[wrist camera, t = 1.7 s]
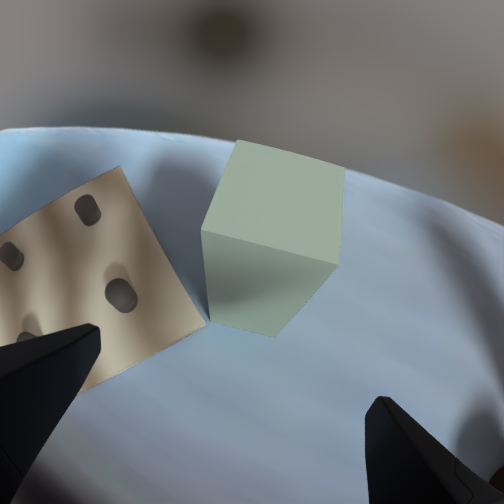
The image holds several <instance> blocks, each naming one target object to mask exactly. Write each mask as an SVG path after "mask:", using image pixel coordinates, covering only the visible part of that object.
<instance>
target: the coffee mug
mask: <svg viewBox="0 0 504 504" xmlns="http://www.w3.org/2000/svg"><path fill="white" fill-rule="evenodd" d="M489 484H490V485H491V486H493V487H494V488H496V489H497V490H498V491H500V492H501V493H503V494H504V466H503V467H501V468H500V469H499V470H498V471H497V472H496V473H495V474H494V475H493V477H492V478H491V480H490V481H489Z"/></svg>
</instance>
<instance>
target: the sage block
mask: <svg viewBox="0 0 504 504" xmlns="http://www.w3.org/2000/svg"><path fill="white" fill-rule="evenodd" d="M344 176H345V168H344V167H341V166H337V165H334V164H331V163H328V162H324V161H321V160H317V159H314V158H310V157H307V156H303V155H299V154H296V153H292V152H288V151H284V150H280V149H276V148H272V147H268V146H264V145H260V144H255V143H251V142H246V141H242V140H237V142H236V144H235V146H234V148H233V151H232V153H231V155H230V158H229V160H228V163H227V165H226V167H225V170H224V172H223V174H222V177H221V179H220V182H219V184H218V187H217V189H216V192H215V194H214V196H213V199H212V201H211V204H210V206H209V209H208V212H207V214H206V217H205V219H204V222H203V224H202V227H201V240H202V250H203V260H204V270H205V279H206V288H207V297H208V306H209V314H210V321H211V322H215V323H218V324H222V325H226V326H230V327H233V328H237V329H241V330H245V331H249V332H253V333H257V334H261V335H265V336H270V337H274V338H275V337H276V336H277V335H278V334H279V333H280V331H281V330H282V329H283V328H284V327H285V326H286V325H287V324H288V323H289V322H290V321H291V319H292V318H293V317H294V316H295V315H296V314H297V313H298V312H299V311H300V309H301V308H302V307H303V306H304V305H305V304H306V303H307V302H308V300H309V299H310V298H311V297H312V296H313V295H314V294H315V292H316V291H317V290H318V289H319V288H320V287H321V285H322V284H323V283H324V282H325V281H326V280H327V278H328V277H329V276H330V275H331V274H332V272H333V271H334V270H335V269H336V268H337V266H338V265H339V256H340V245H341V232H342V218H343V200H344Z"/></svg>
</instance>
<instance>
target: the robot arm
mask: <svg viewBox="0 0 504 504" xmlns="http://www.w3.org/2000/svg"><path fill="white" fill-rule="evenodd" d="M100 352H101V331H100V328H99V327H98V326H96V325H93V324H91V323H86V324H82V325H79V326H75V327H71V328H68V329H64V330H61V331H57V332H53V333H50V334H46V335H42V336H38V337H35V338H31V339H27V340H23V341H20V342H16V343H12V344H8V345H4V346H0V504H10V503H11V501H12V499H13V497H14V495H15V494H16V492H17V490H18V488H19V486H20V485H21V483H22V481H23V479H24V477H25V476H26V474H27V472H28V470H29V469H30V467H31V465H32V464H33V462H34V460H35V459H36V457H37V455H38V454H39V452H40V451H41V449H42V447H43V446H44V444H45V443H46V441H47V439H48V438H49V436H50V435H51V433H52V431H53V430H54V428H55V427H56V425H57V424H58V422H59V421H60V419H61V418H62V416H63V415H64V413H65V412H66V410H67V409H68V407H69V406H70V404H71V403H72V401H73V400H74V398H75V397H76V395H77V394H78V392H79V391H80V389H81V388H82V386H83V384H84V382H85V380H86V379H87V377H88V375H89V373H90V371H91V369H92V367H93V365H94V364H95V362H96V360H97V358H98V356H99V354H100ZM365 460H366V471H367V481H368V493H369V504H504V494H503V493H501V492H500V491H498V490H497V489H496V488H494V487H493V486H491V485H490V484H489V483H487V482H486V481H484V480H483V479H482V478H480V477H479V476H478V475H476V474H475V473H474V472H472V471H471V470H470V469H469V468H468V467H466V466H465V465H464V464H463V463H462V462H461V461H460V460H459V459H457V458H455V456H454V455H453V454H452V453H451V452H450V451H448V450H447V449H446V448H445V447H444V446H443V445H442V444H441V443H440V442H438V441H437V440H436V439H435V438H434V437H433V436H432V435H431V434H430V433H428V432H427V431H426V430H425V429H424V428H423V427H422V426H421V425H420V424H419V423H417V422H416V421H415V420H414V419H413V418H412V417H411V416H410V415H409V414H408V413H407V412H405V411H404V410H403V409H402V408H401V407H400V406H399V405H398V404H397V403H396V402H395V401H393V400H392V399H391V398H390V397H385V396H379V397H377V398H376V399H375V401H374V402H373V404H372V405H371V407H370V408H369V410H368V411H367V413H366V415H365Z"/></svg>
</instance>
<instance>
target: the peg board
mask: <svg viewBox="0 0 504 504" xmlns="http://www.w3.org/2000/svg"><path fill="white" fill-rule="evenodd" d="M86 323H91V324H93V325H96V326H98V327H99V328H100V331H101V352H100V354H99V356H98V358H97V360H96V362H95V364H94V365H93V367H92V369H91V371H90V373H89V375H88V377H87V379H86V380H85V382H84V384H83V386H82V388H81V389H80V391H79V392H78V394H80V393H82V392H84V391H86V390H88V389H90V388H92V387H94V386H96V385H98V384H100V383H102V382H104V381H106V380H108V379H110V378H112V377H114V376H115V375H117V374H119V373H121V372H123V371H125V370H127V369H129V368H131V367H132V366H134V365H136V364H138V363H140V362H142V361H144V360H145V359H147V358H149V357H151V356H153V355H155V354H156V353H158V352H160V351H162V350H164V349H166V348H167V347H169V346H171V345H173V344H175V343H176V342H178V341H180V340H182V339H183V338H185V337H187V336H189V335H191V334H192V333H194V332H196V331H198V330H199V329H201V328H203V327H204V326H206V323H205V321H204V319H203V318H202V316H201V315H200V313H199V311H198V310H197V308H196V306H195V305H194V303H193V301H192V300H191V298H190V296H189V295H188V293H187V291H186V290H185V288H184V286H183V285H182V283H181V281H180V279H179V278H178V276H177V274H176V273H175V271H174V269H173V267H172V265H171V264H170V262H169V260H168V258H167V257H166V255H165V253H164V251H163V249H162V248H161V246H160V244H159V242H158V240H157V238H156V236H155V235H154V233H153V231H152V229H151V227H150V225H149V223H148V221H147V219H146V217H145V216H144V214H143V212H142V210H141V208H140V206H139V204H138V202H137V200H136V198H135V196H134V194H133V192H132V190H131V188H130V186H129V184H128V182H127V179H126V177H125V175H124V173H123V171H122V169H121V167H120V166H119V167H117V168H115V169H113V170H111V171H109V172H107V173H105V174H103V175H101V176H99V177H97V178H95V179H93V180H91V181H89V182H87V183H85V184H83V185H81V186H79V187H78V188H76V189H74V190H72V191H70V192H68V193H67V194H65V195H63V196H61V197H60V198H58V199H56V200H54V201H53V202H51V203H49V204H48V205H46V206H44V207H43V208H41V209H39V210H38V211H36V212H35V213H33V214H31V215H30V216H28V217H27V218H25V219H24V220H22V221H20V222H19V223H17V224H16V225H14V226H13V227H11V228H10V229H9V230H7V231H6V232H4V233H3V234H1V235H0V346H4V345H8V344H12V343H16V342H20V341H23V340H27V339H31V338H35V337H38V336H42V335H46V334H50V333H53V332H57V331H61V330H64V329H68V328H71V327H75V326H79V325H82V324H86ZM78 394H77V395H78Z"/></svg>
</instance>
